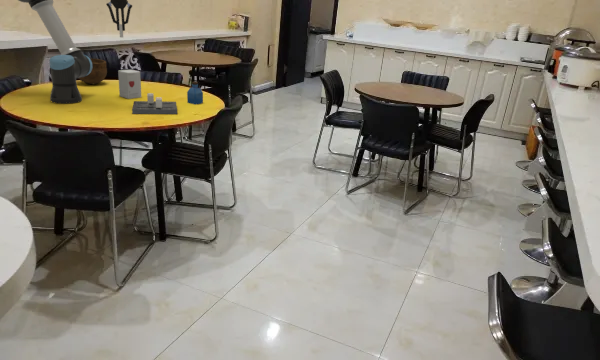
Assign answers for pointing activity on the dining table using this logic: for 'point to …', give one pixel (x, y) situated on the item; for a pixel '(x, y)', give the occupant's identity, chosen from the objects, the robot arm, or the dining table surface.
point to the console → (154, 108)
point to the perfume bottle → (195, 94)
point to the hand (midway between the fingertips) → (121, 37)
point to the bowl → (96, 72)
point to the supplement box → (129, 83)
